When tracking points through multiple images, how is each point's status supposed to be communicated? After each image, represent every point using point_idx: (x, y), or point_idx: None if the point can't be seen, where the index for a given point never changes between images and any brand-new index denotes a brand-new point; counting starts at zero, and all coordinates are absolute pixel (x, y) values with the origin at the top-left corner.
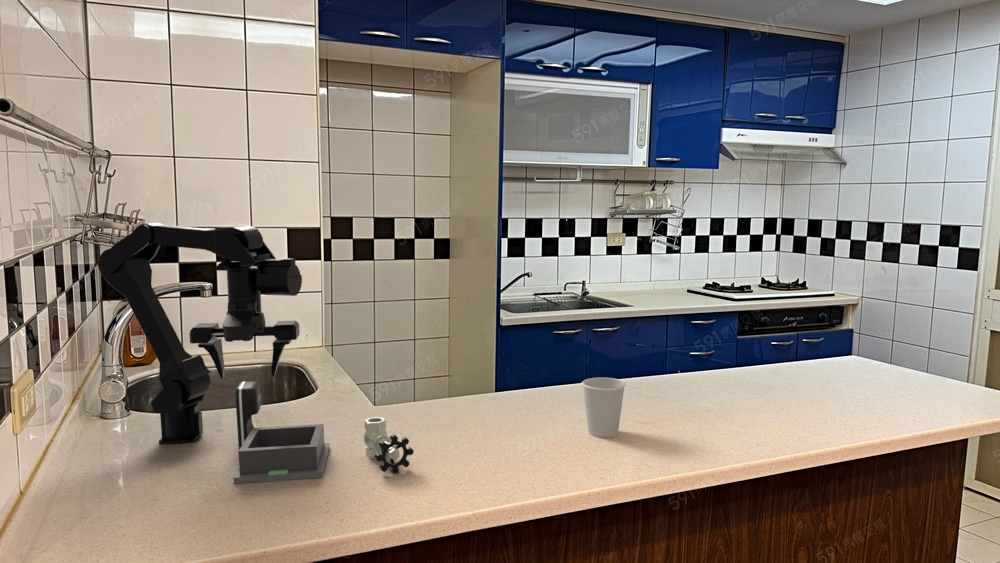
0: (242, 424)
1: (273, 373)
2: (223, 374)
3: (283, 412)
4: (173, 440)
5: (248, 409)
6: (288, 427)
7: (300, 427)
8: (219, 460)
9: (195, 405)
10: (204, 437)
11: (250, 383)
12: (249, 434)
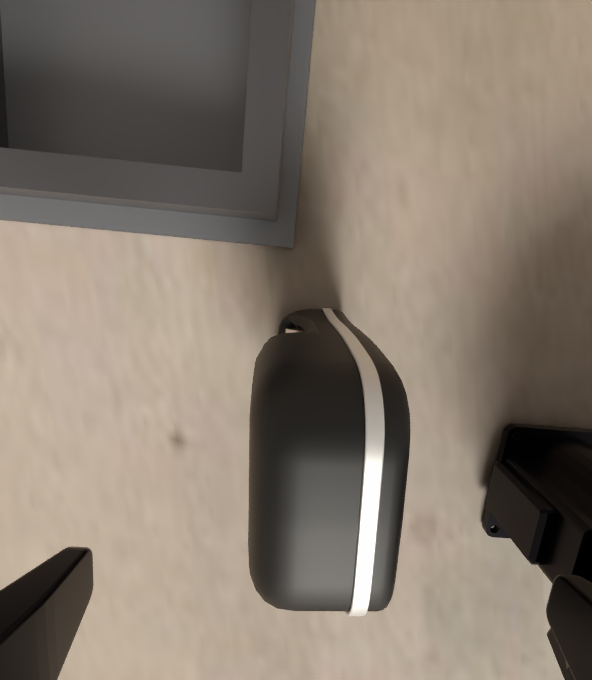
0: (335, 323)
1: (59, 561)
2: (571, 622)
3: (219, 661)
4: (580, 434)
5: (306, 338)
6: (81, 164)
7: (14, 150)
8: (402, 197)
9: (577, 573)
10: (471, 468)
11: (306, 539)
12: (280, 96)
